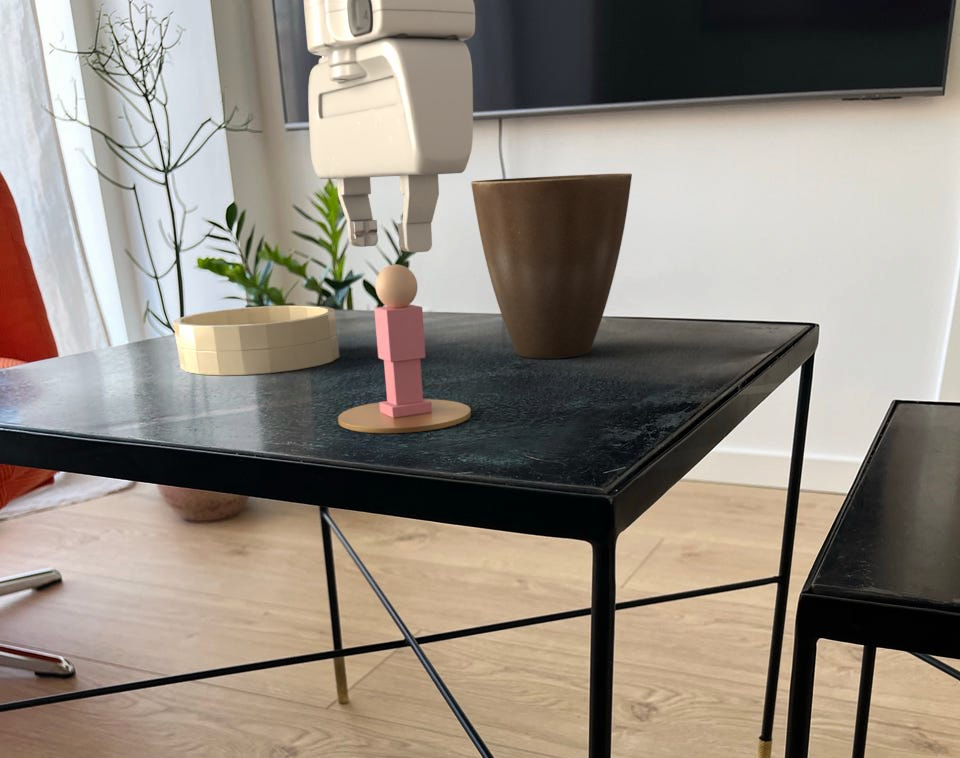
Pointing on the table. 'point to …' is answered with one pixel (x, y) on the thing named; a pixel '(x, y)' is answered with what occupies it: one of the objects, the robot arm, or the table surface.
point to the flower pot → (552, 256)
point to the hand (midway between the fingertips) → (388, 248)
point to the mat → (404, 418)
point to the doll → (400, 342)
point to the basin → (256, 339)
